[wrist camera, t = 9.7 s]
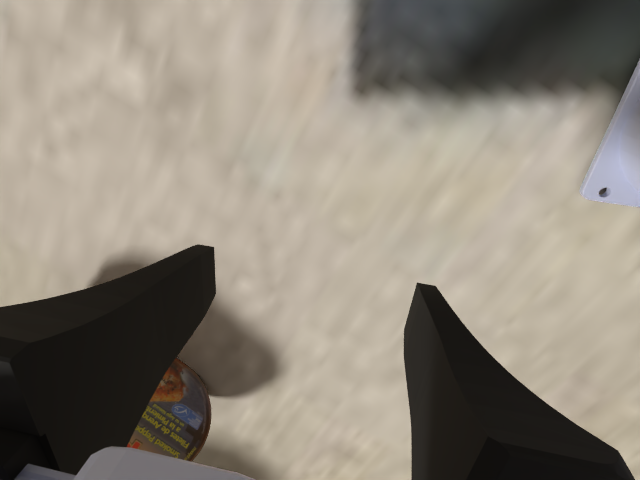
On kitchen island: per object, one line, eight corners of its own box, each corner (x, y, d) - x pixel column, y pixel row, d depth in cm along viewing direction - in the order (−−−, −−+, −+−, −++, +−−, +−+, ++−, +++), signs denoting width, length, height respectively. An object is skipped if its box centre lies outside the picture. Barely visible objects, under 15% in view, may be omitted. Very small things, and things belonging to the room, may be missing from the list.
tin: (228, 395, 31) (178, 503, 24) (207, 410, 32) (154, 516, 25) (76, 280, 28) (-37, 364, 20) (60, 302, 29) (-51, 387, 22)
